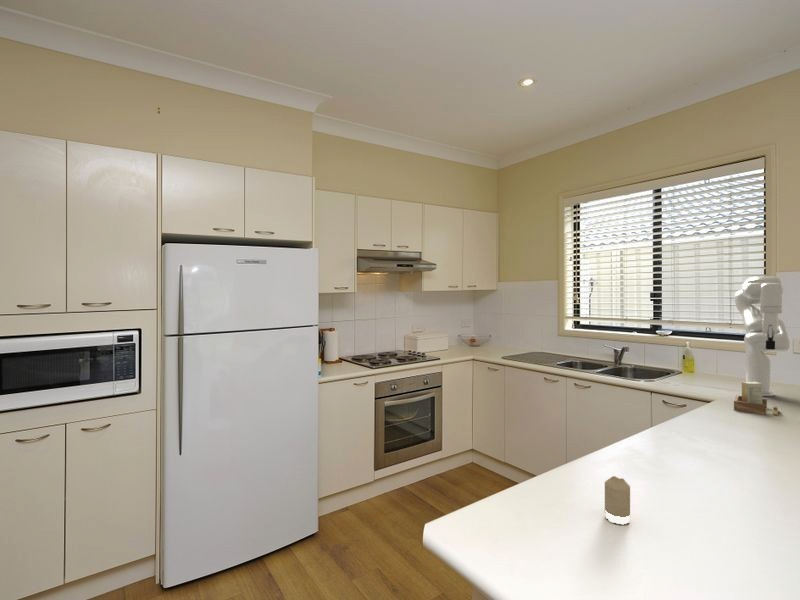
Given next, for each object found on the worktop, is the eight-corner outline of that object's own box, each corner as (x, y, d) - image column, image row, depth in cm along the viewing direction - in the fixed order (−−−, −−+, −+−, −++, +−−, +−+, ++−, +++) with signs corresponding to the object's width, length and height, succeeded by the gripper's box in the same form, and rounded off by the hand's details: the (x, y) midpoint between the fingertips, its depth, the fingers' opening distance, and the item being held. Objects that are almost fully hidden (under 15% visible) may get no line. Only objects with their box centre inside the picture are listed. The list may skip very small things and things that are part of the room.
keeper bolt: (773, 409, 190) (773, 403, 190) (777, 410, 189) (777, 404, 189) (772, 414, 183) (772, 408, 183) (777, 414, 182) (777, 408, 182)
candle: (600, 514, 105) (600, 474, 105) (621, 512, 106) (621, 473, 106) (613, 526, 100) (613, 484, 100) (635, 525, 100) (635, 483, 100)
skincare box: (756, 407, 194) (756, 381, 193) (763, 410, 189) (763, 383, 189) (740, 407, 195) (741, 381, 194) (747, 410, 190) (747, 383, 190)
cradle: (736, 403, 201) (736, 395, 201) (766, 407, 194) (766, 399, 194) (733, 409, 191) (733, 400, 191) (766, 414, 184) (766, 405, 184)
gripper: (760, 308, 205) (760, 346, 205) (759, 310, 194) (759, 350, 194) (781, 309, 200) (781, 347, 200) (781, 311, 189) (781, 352, 189)
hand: (770, 349), depth 197 cm, fingers closed
